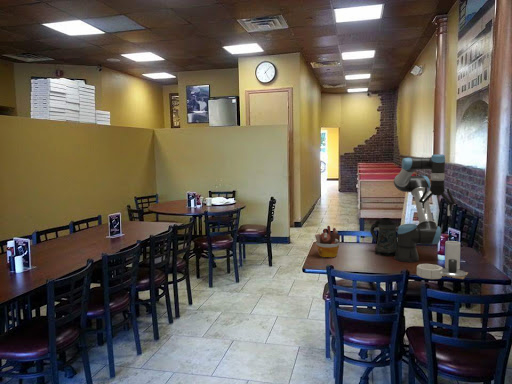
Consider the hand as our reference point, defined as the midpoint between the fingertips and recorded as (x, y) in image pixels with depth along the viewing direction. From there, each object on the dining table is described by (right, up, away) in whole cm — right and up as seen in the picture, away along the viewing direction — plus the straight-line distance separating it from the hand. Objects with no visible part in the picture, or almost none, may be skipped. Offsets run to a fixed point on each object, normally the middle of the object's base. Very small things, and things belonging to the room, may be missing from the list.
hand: (436, 214), depth 247 cm
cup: (+9, -33, 0) cm, 34 cm away
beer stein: (-19, -30, +38) cm, 52 cm away
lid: (+4, -33, -12) cm, 36 cm away
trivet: (+4, -34, -12) cm, 36 cm away
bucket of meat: (-60, -31, +34) cm, 76 cm away
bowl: (-10, -34, -14) cm, 38 cm away
